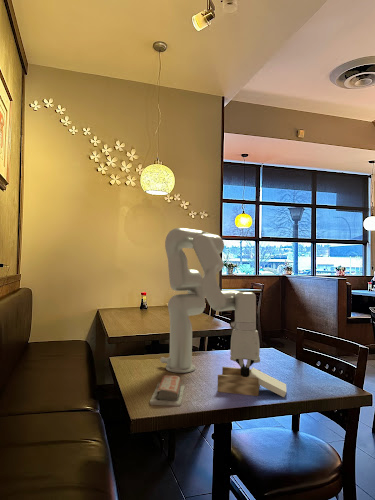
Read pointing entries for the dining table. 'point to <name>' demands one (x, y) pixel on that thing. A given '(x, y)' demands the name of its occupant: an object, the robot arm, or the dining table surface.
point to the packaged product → (168, 392)
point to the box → (237, 382)
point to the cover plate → (269, 382)
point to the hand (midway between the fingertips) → (245, 377)
